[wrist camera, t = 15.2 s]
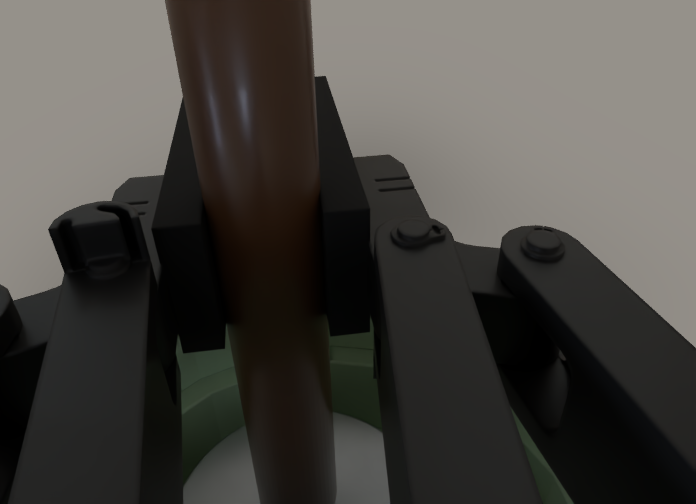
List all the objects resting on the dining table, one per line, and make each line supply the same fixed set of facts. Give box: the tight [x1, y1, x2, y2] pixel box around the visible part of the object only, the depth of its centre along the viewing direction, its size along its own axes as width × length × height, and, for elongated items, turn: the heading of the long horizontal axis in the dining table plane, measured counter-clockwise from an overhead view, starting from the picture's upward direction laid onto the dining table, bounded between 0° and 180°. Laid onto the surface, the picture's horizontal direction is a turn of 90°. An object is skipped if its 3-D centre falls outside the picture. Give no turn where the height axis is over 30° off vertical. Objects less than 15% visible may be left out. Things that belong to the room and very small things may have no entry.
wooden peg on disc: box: [165, 0, 390, 504], centre depth 11 cm, size 7×7×19 cm
